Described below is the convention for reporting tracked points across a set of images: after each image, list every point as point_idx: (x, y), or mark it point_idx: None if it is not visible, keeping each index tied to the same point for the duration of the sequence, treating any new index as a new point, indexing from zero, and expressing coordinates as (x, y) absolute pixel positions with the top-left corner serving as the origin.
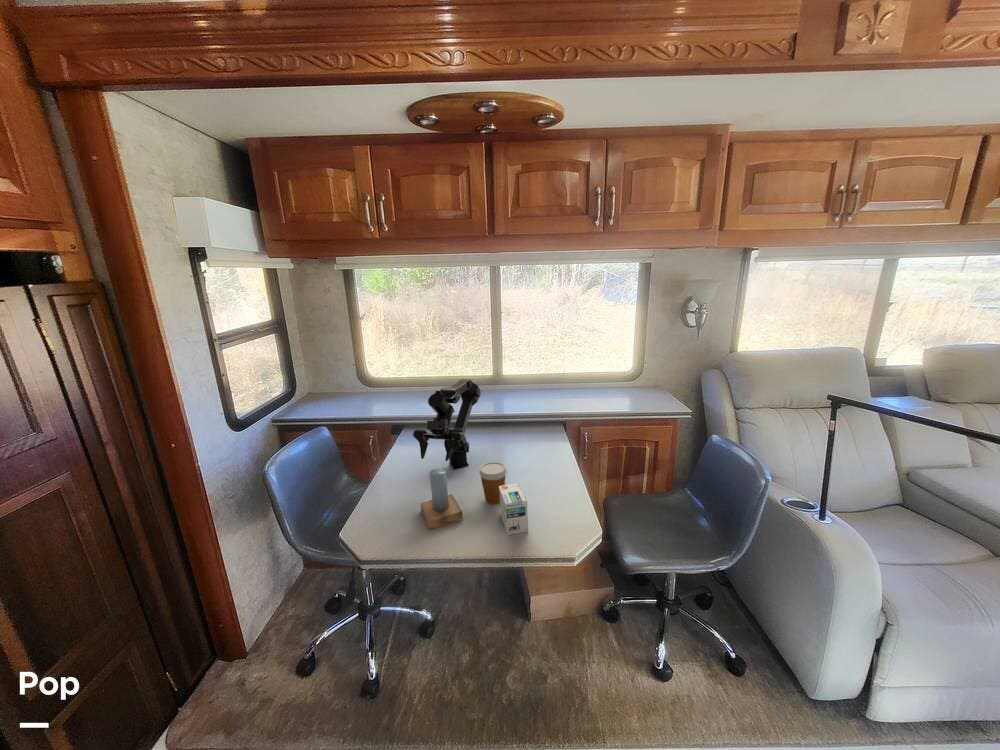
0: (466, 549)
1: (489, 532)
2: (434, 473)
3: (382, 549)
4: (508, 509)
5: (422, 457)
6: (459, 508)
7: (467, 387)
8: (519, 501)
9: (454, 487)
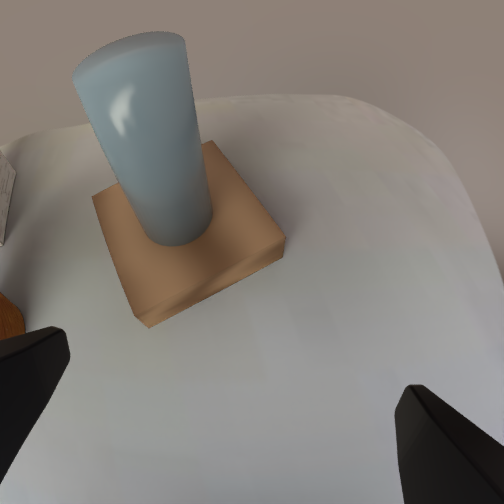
0: None
1: (46, 175)
2: (149, 45)
3: (323, 108)
4: None
5: (408, 395)
6: (100, 208)
7: None
8: None
9: (162, 457)
